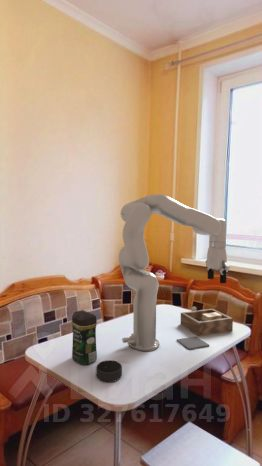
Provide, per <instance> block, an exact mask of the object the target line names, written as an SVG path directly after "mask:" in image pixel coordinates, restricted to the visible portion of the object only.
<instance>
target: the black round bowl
mask: <svg viewBox="0 0 262 466" xmlns="http://www.w3.org/2000/svg"><path fill="white" fill-rule="evenodd" d="M95 371H96V372H95V377H96V378H97V379H98V380H99V379H100V380H99V381H101V380H102V381H101V382H104V381H105V383H112V381H113V382H115V380H116V381H118V380H120V379H121V377H122V376H123V375H122V374H123V367H122V364H121V362H119V361H116V360H109V359H108V360H103V361H101V362H99V363H98V364H97V365H96V368H95Z"/></svg>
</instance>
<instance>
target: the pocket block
mask: <svg viewBox="0 0 262 466" xmlns="http://www.w3.org/2000/svg"><path fill="white" fill-rule="evenodd" d="M213 312H217V313H219V314H221V315H222V319H215V320H208V321H203V320H202V314H206V313H213ZM199 320H202V321H201V322H199ZM233 320H234V318H233V317H231V316H229V315H228V314H225V313H223V312H221V311H218V310H216V309H214V308H206V309H199V310H198V309H197V310H196V311H185V312H184V311H183V312H180V326H182V327H184V328H185V329H187V330H189V332H192V333H193V334H194V335H195V336H197V337H202V336H208V335H213V334H219V333H225V332H231V331H233V325H234V321H233Z"/></svg>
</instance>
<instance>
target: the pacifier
mask: <svg viewBox="0 0 262 466" xmlns="http://www.w3.org/2000/svg"><path fill="white" fill-rule="evenodd" d="M190 310H191V311H198V309H197V307H196V306H192V307H191V309H190Z"/></svg>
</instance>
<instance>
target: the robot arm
mask: <svg viewBox="0 0 262 466" xmlns="http://www.w3.org/2000/svg"><path fill="white" fill-rule="evenodd" d="M152 215H159V216H161V217H164V218H166V219H167V220H169V221H172V222H173V223H175V224H178V225H180V226H181V225H182V226H186V227H191V228H192V230H193V232H194V233H195V234H196V235H200V236H201V235H202V236H208V238H209V240H208V249H207V254H206V259H205V264H206V271H207V279H208V280H212V279H213V280H214V277H215V271H219V273H220V274H219V284H226V283H227V275H228V273H229V271H230V265H229V264H228V262H227V261H228V259H227V258H228V257H227V256H228V255H227V249H226V242H227V221H226V219H224V218H216V217H214V216H213V215H210V214H208V213H205V212H203V211H201V210H199V209H195V208H192V207H189V206H187V205H185V204H183V203H181V202H179V201H178V200H176V199H174V198H172V197H170V196H168V195H166V194H163V193H158V194H157V193H156V194H149V195H146V196H144V197H141V198H139V199H136V200H134V201H133V200H132V201H130V202H128V203H126V204H124V205H123V206H122V208H121V209H120V217H121V219H122V220H123V222H124V225H123V227H122V241H123V247H121V249H120V250H119V252H118V263H119V267H120V270H121V274H122V276H123V281H124V283H125V285H126V286H127V287H128V288H129V289H131V290H133V291H135V296H134V299H133V305H132V306H133V307H132V308H133V309H132V310H133V317H132V318H133V323H132V324H133V328H132V330H133V333H131V336H129V337H123V338H122V340H121V341H122V343H123V344H124V343H125V344H126V343H127V344H128V345H129V346H130V347H131V348H132V349H133V350H136V351H140V352H150V351H154V350H157V349H158V348H159V347H160V341H159V339H157V327H156V326H157V297H158V296H157V295H158V290H159V285H160V284H159V283H160V282H159V280H158V278H157V276H156V275H155V274H154V273H153V272H151V271H148V270H146V269H147V268H148V266H149V264H150V256H149V252H148V249H147V245H146V242H145V235H144V231H145V228H146V225H147V223H148V222H149V221H150V220H151V216H152Z"/></svg>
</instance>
